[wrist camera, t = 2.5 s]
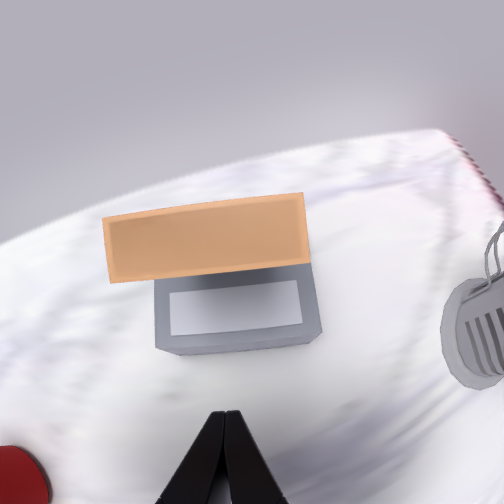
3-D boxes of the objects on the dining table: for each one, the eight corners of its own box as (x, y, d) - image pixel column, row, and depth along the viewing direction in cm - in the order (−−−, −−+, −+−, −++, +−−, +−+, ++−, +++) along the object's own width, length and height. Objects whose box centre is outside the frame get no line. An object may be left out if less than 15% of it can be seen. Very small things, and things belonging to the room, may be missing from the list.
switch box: (309, 343, 20) (326, 328, 15) (179, 355, 20) (148, 345, 15) (292, 238, 23) (300, 192, 18) (176, 250, 23) (150, 210, 18)
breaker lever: (275, 243, 18) (310, 262, 8) (183, 253, 18) (110, 283, 8) (272, 212, 18) (303, 192, 8) (180, 223, 18) (101, 218, 8)
